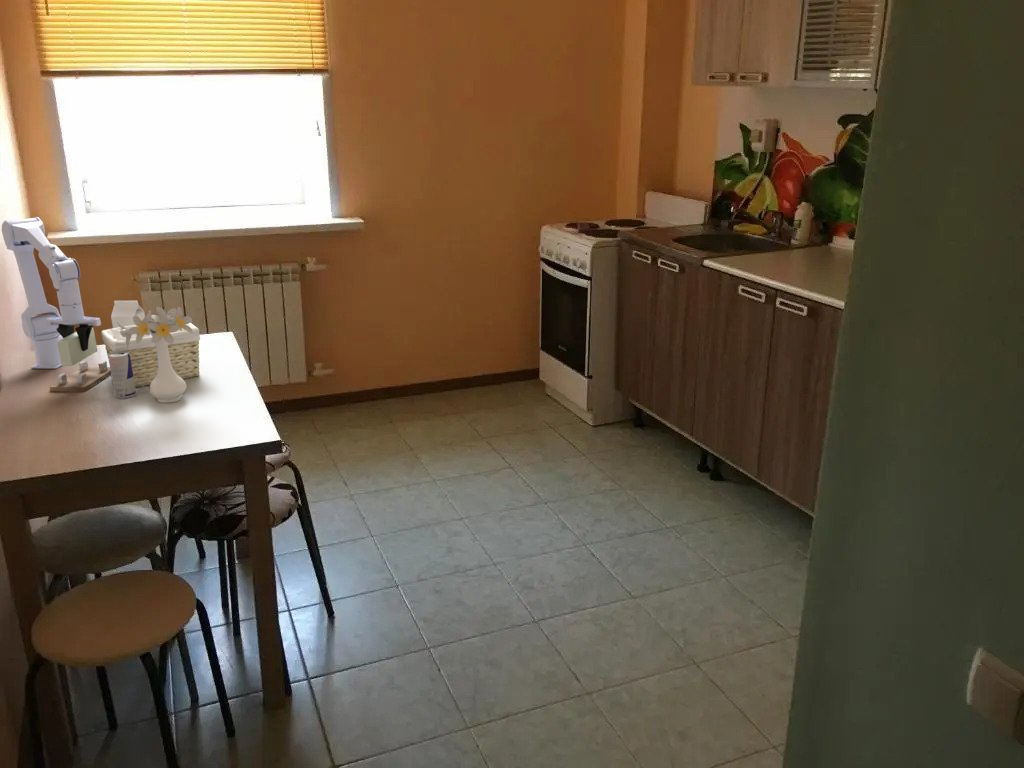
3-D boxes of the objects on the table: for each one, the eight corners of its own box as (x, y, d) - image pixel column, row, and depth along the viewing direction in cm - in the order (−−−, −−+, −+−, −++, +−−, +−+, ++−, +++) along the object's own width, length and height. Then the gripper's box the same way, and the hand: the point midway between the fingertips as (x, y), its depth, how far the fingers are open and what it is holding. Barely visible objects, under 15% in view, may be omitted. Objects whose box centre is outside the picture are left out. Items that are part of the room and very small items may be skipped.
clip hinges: (84, 368, 254) (83, 360, 253) (107, 369, 254) (106, 361, 253) (58, 384, 241) (57, 376, 240) (82, 385, 240) (81, 376, 240)
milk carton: (142, 364, 262) (132, 303, 255) (118, 364, 262) (108, 303, 256) (151, 357, 268) (142, 297, 262) (128, 357, 269) (119, 298, 262)
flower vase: (125, 400, 232) (111, 310, 224) (195, 386, 242) (183, 300, 234) (136, 414, 222) (121, 321, 214) (209, 400, 232) (197, 310, 223)
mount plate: (83, 370, 256) (83, 366, 256) (116, 370, 256) (115, 367, 255) (50, 391, 239) (49, 387, 239) (85, 391, 239) (84, 387, 238)
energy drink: (140, 392, 238) (133, 351, 234) (130, 399, 233) (123, 357, 229) (121, 392, 238) (114, 350, 234) (111, 398, 233) (103, 356, 229)
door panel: (87, 351, 252) (83, 328, 249) (97, 351, 252) (93, 328, 249) (61, 366, 239) (56, 341, 236) (72, 366, 238) (67, 341, 236)
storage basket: (190, 363, 263) (184, 316, 258) (207, 376, 251) (200, 328, 246) (107, 378, 250) (98, 329, 245) (120, 393, 237) (111, 342, 233)
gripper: (37, 306, 237) (46, 353, 241) (88, 307, 236) (96, 354, 240) (51, 300, 243) (59, 346, 248) (101, 300, 242) (109, 346, 247)
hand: (78, 349), depth 244 cm, fingers closed on door panel, 3 cm apart
